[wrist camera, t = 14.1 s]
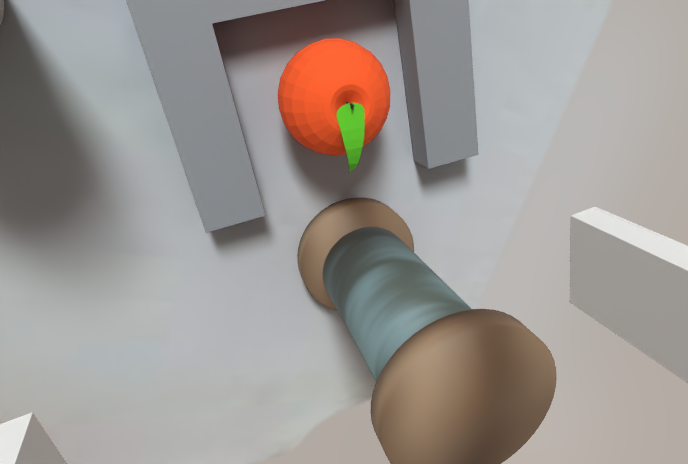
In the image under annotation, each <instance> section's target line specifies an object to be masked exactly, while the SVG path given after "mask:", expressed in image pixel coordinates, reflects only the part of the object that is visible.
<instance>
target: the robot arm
mask: <svg viewBox="0 0 688 464" xmlns="http://www.w3.org/2000/svg"><path fill="white" fill-rule="evenodd" d="M570 303H571V304H573V305H574V306H576V307H577V308H579V309H580V310H582V311H583V312H585V313H586V314H587V315H589V316H590V317H592V318H594V319H595V320H596V321H598V322H599V323H601V324H602V325H604V326H605V327H607V328H608V329H609V330H611V331H612V332H614V333H615V334H617V335H618V336H620V337H621V338H622V339H624V340H625V341H627V342H628V343H630V344H631V345H633V346H634V347H636V348H637V349H639V350H640V351H641V352H643V353H644V354H646V355H647V356H649V357H650V358H652V359H653V360H655V361H656V362H657V363H659V364H660V365H662V366H663V367H665V368H666V369H668V370H669V371H671V372H672V373H673V374H675V375H677V376H678V377H679V378H681V379H682V380H684V381H685V382H687V383H688V246H687V245H684V244H681V243H680V242H677V241H675V240H672V239H670V238H667V237H665V236H663V235H661V234H658V233H656V232H654V231H651V230H649V229H646V228H644V227H642V226H639V225H637V224H635V223H632V222H630V221H628V220H625V219H623V218H620V217H618V216H615V215H613V214H611V213H608V212H606V211H604V210H602V209H599V208H597V207H593V208H590V209H587V210H585V211H582V212H579V213H577V214H574V215H571V227H570ZM0 464H67V463H66V461H65V460H64V458H63V457H62V455H61V454H60V453H59V451H58V450H57V448H56V447H55V445H54V444H53V442H52V441H51V439H50V438H49V436H48V435H47V433H46V432H45V430H44V429H43V427H42V426H41V424H40V423H39V421H38V420H37V418H36V417H35V415H34V414H33V412H32V413H30V414H27V415H24V416H21V417H19V418H16V419H13V420H10V421H8V422H5V423H2V424H0Z"/></svg>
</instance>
